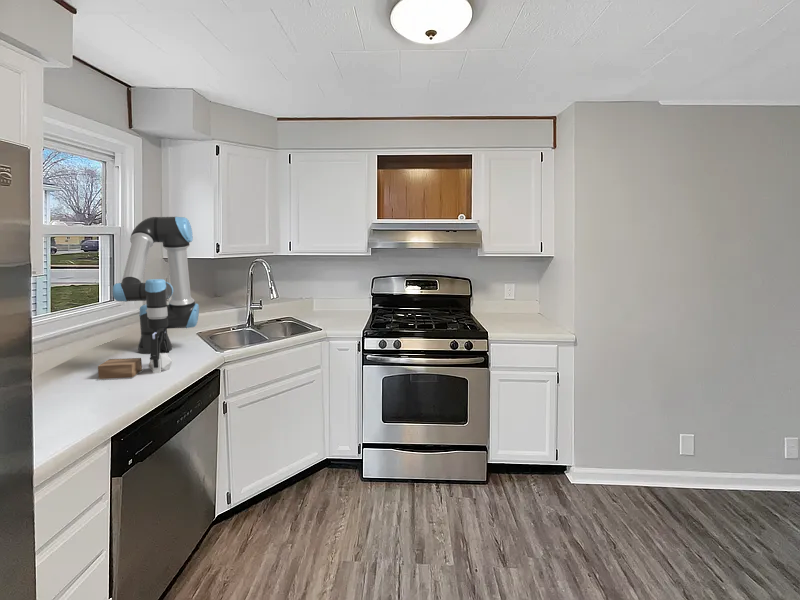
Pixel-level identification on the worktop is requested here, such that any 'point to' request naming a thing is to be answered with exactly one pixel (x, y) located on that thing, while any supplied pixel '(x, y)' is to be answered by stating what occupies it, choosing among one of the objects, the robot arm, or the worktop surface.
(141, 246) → the robot arm
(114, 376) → the walnut brick
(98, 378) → the base plate
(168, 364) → the die
